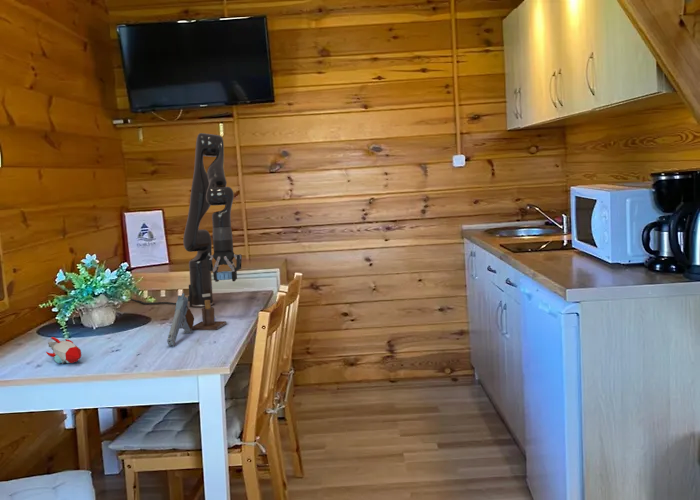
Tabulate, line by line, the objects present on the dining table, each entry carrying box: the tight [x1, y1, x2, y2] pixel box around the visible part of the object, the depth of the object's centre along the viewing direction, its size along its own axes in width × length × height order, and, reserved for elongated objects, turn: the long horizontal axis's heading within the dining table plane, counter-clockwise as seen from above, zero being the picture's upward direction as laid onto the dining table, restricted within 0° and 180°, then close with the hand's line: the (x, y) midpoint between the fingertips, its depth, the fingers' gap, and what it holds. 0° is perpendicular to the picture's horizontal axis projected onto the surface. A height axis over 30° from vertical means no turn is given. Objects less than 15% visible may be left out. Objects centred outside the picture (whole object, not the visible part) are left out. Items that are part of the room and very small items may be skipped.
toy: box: [45, 336, 82, 364], centre depth 207 cm, size 21×7×7 cm, turn 40°
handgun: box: [166, 293, 195, 347], centre depth 232 cm, size 4×25×15 cm
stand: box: [192, 300, 228, 331], centre depth 248 cm, size 10×10×10 cm
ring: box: [216, 270, 232, 281], centre depth 260 cm, size 6×6×2 cm
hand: (225, 281), depth 260 cm, fingers closed on ring, 6 cm apart
